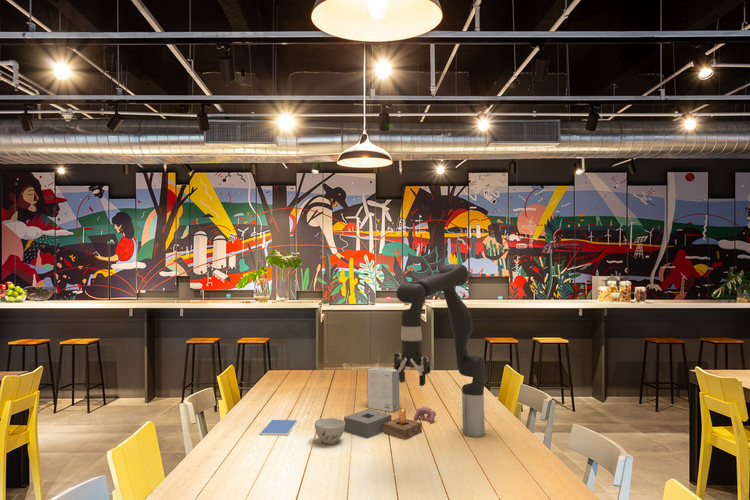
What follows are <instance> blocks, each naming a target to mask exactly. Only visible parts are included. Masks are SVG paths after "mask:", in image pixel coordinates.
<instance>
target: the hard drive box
mask: <svg viewBox="0 0 750 500" xmlns="http://www.w3.org/2000/svg"><path fill="white" fill-rule="evenodd" d="M366 373H367V379H366V380H367V409H371V410H376V411H378V410H379V411H383V412H390V413H394V412H396V411H399V409H400V407H401V406H400V402H401V401H400V381H399V372H398V370H395V369H394V368H386V367H377V366H376V367H375V366H373V367H372V368H368V369H367V372H366Z"/></svg>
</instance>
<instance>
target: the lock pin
mask: <svg viewBox="0 0 750 500" xmlns="http://www.w3.org/2000/svg"><path fill="white" fill-rule="evenodd" d="M398 418H399V425H403V426H404V425H406V419H407V408H404V407H401V408H400V409H398Z"/></svg>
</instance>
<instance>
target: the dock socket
mask: <svg viewBox="0 0 750 500" xmlns="http://www.w3.org/2000/svg"><path fill="white" fill-rule="evenodd" d="M343 420H344V421H345V427H344V431H343V432H347V433H350V434H353V435H355V436H359V437H362V438H365V439H370V438H372V437H374V436H377V435H380V434H383V424H384V423H386V422H389V421H392V414H389V413H385V412H382V411H378V410H375V409H371V408H367V409H364V410H361V411H358V412H355V413H352V414H349V415H346V416H344V417H343Z"/></svg>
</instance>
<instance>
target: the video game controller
mask: <svg viewBox="0 0 750 500" xmlns="http://www.w3.org/2000/svg"><path fill="white" fill-rule="evenodd" d="M436 415H437V413H436V411H434V410H433V409H432V408H430V407H424V406H423V407H418V408H417V409H416V411H415V413H414V416H413V421H417V420H418V418H419V419H420V420H422V421H424V420H425V419H426V421H427V422H429V424H433V423H434V421H435V417H436Z"/></svg>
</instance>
